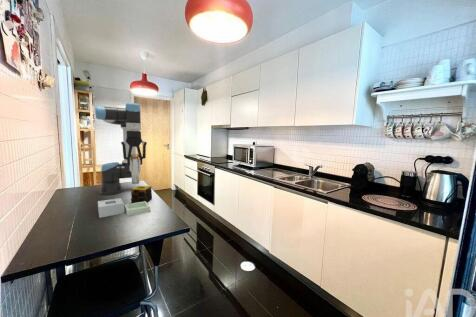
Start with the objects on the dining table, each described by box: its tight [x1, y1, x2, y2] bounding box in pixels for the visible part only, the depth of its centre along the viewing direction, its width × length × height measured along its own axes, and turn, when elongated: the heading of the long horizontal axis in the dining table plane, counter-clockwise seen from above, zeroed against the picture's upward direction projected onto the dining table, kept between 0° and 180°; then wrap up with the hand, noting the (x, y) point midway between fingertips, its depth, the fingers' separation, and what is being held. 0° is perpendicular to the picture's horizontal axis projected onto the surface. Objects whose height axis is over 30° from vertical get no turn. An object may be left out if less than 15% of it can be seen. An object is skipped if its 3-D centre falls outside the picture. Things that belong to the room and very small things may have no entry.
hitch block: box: [97, 197, 125, 219], centre depth 118 cm, size 12×12×6 cm
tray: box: [124, 201, 151, 217], centre depth 122 cm, size 12×12×3 cm
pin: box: [131, 153, 140, 185], centre depth 119 cm, size 5×5×17 cm
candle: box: [130, 185, 153, 204], centre depth 138 cm, size 10×10×10 cm
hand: (135, 170), depth 119 cm, fingers closed on pin, 4 cm apart
